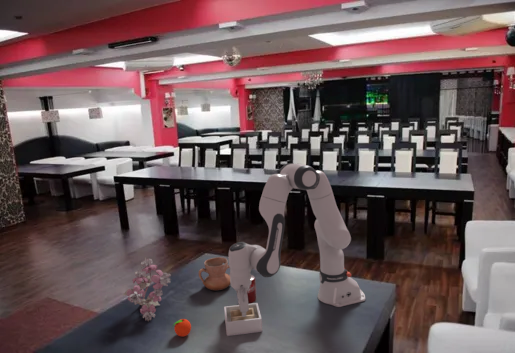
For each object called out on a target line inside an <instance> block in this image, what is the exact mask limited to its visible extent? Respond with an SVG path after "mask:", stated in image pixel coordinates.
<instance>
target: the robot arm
mask: <svg viewBox="0 0 515 353" xmlns="http://www.w3.org/2000/svg"><path fill="white" fill-rule="evenodd" d="M294 189H295V190H296V189H297V190H302V191H306V192H307V195H308V199H309V202H310V206H311V210H312V213H313V215H314V216H315V218H316V219H315V221H314V224H313V225H314V229H315V233H316V237H317V238H316V239H317V245H318V250H319V260H320V261H319V262H320V268H319V273H318V274H319V277H318V278H319V282H320V283H319V289H318V294H317V299H318V300H319V301H320V302H321V303H324V304H326V305H331V306H334V307H336V308H341V307H344V306H349V305H353V304H357V303H361V302H365V301H366V295H365V293H364V292H363V290H362V289H361V288H360V286H359V284H358V282H357V281H356V280H355V279H354V278H352V273H351V271H348V270H347V269H346V268H345V255H344V251H343V250H344V249H345V248H346V249H347V247H348V246H349V244H350V243H351V241H352V237H351V234H350V231H349V229H348V227H347V226H346V223H345V221H344V219H343V217H342V214H341V212H340V210H339V208H338V206H337V202H336V199H335V196H334V192H333V189H332V186H331V182H330V180H329V179H328V177H327V175H326V173H325V172H323V171H322V170H318V169H317V170H316V169H314V168H313V167H312V166H310V165H308V164H307V165H306V164H303V163H294V162H293V163H292V162H289V163H285V164H284V165H283V166H281V168H280V169H279V170H278V172H277V173H274V174H273V173H272V174H271V175H270V176H269V177H268V179H267V181H266V182H265V185H264V187H263V190H262V194H261V197H260V200H259V204H258V205H259V206H258V211H259V213H260V215H261V217H262V218H263V220H265V222H266V225H267V226H268V235H267V236H268V237H267V242H266V248H265V247H263V246H261V245H259V244H249V243H246V242H244V241H240V242H236V243H233V244H232V245H231V246H230V247H229V250H228V265H229V267H230V268H229V270H230V271H229V275H230V283H231V284H230V287H231V288H233V290H234V291H235V292H236V295H237V296H236V297H237V302H238V305H239V308H240V312H242V317H246V311H248V310H249V305H248V295H247V289H248V288H249V286H250V285H251V275H252V274H251V271H252V270H254V271H256V272H258V274H260V275H261V276H262V277H263V278H271V277H273V276H275V275H276V274H277V273H278V272H279V270H280V268H281V262H282V261H281V251H282V245H283V239H284V234H285V227H286V219H285V210H286V204H287V200H288V197H289V193H290V192H291V191H292V190H294Z"/></svg>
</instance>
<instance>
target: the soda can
mask: <svg viewBox="0 0 515 353" xmlns="http://www.w3.org/2000/svg"><path fill="white" fill-rule="evenodd" d="M247 295H248V304H252V303H256V301H257V281H256V277H255V276H254V275H253V274H251V285H250V286H249V288H248V289H247Z"/></svg>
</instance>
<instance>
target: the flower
mask: <svg viewBox="0 0 515 353" xmlns="http://www.w3.org/2000/svg"><path fill="white" fill-rule="evenodd" d="M140 266H141V267H140V269H139V270H137V271H136V270H135V273H134V276H135V278H132V283H133V284H135V283H136V285H134V286H133V288H127V289H126V291H124V292H123V294H122V296H128V297H127V301H129V303H132V304H133V303H134V305H137V304H138V305H140V306H141V308H140V309H139V312H140V314H141V315H142V318H143V319H144V320H145V321H147V322H149V321H151V320H152V317H153V318H156V314H155V312H156V311H157V308H156V306H161V304H160V303H159V302H161V301H162V297H161V296H163V295H164V294H163V293H164V292H163V290H162V288H163V287H164V286H165V287H168V286H169V285H168V284H170V283H171V281H172V280H173V279H171V276H172V274H170V273H167V272H163V271H162V270H161V269H158V265H157V264H153V259H152V258H146V257H144V260H143V259H142V260H141V262H140ZM143 267H144V268H143ZM152 271H155V273H157V274H158V275H157V274H153V275H151V274H152V273H151V272H152ZM147 274H149V275H147ZM151 283H155V284H153V285H152V288H153V291H150V292H149V294H148V296H147V297H146V294H147V292H148V289H149V288H150V286H151ZM144 289H145V290H144ZM145 297H146V299H145Z"/></svg>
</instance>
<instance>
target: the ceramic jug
mask: <svg viewBox="0 0 515 353" xmlns="http://www.w3.org/2000/svg"><path fill="white" fill-rule="evenodd" d="M203 264H204V267H205V268H201V269H199V270H198V277H199V279H200V281H201V282H202V284H203V285H204V287H205V288H206V289H208V290H211V291H222V290H225V289H227V288H228V287H229V286H231V283H230V274H228V273H226V272H227V270H228V269H230V267H229V259H227V257H223V256H221V257H220V256H219V257H212V258H208V259H206V260H205V261H204V263H203ZM202 272H204V273H206V274H208V275H207V276H206V277H205V278H203V276H202Z"/></svg>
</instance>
